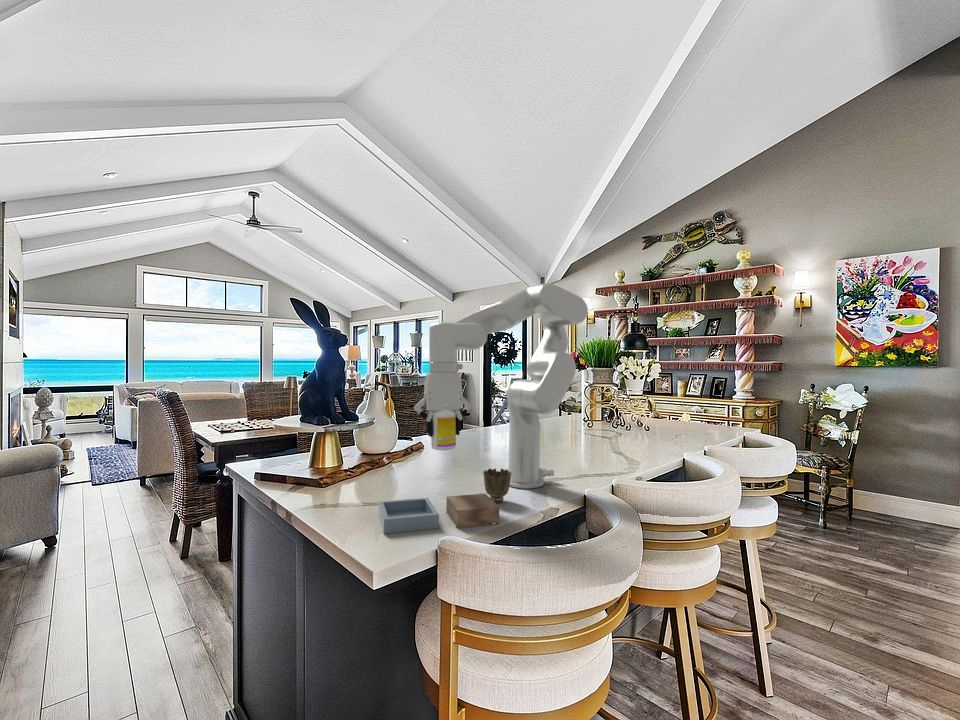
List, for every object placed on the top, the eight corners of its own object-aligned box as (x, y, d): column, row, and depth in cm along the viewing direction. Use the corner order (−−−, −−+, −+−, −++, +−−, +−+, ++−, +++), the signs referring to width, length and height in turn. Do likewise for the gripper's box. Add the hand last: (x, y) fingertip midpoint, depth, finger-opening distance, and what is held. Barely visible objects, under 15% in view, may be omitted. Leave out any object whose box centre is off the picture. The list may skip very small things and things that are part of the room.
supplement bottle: (461, 448, 119) (461, 400, 119) (442, 452, 115) (441, 403, 114) (445, 444, 124) (445, 398, 124) (426, 448, 119) (426, 400, 119)
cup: (480, 504, 115) (481, 474, 115) (484, 496, 122) (485, 467, 122) (509, 507, 114) (510, 475, 114) (511, 497, 121) (512, 468, 121)
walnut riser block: (484, 509, 111) (485, 493, 111) (498, 523, 102) (499, 506, 102) (446, 512, 108) (446, 496, 108) (457, 528, 99) (457, 510, 99)
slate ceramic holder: (427, 510, 110) (428, 497, 110) (438, 528, 99) (438, 514, 99) (378, 514, 106) (378, 501, 106) (383, 533, 95) (384, 519, 95)
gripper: (470, 367, 125) (470, 430, 126) (408, 368, 120) (409, 434, 120) (478, 368, 118) (478, 435, 118) (413, 369, 113) (413, 439, 113)
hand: (443, 434), depth 119 cm, fingers closed on supplement bottle, 6 cm apart
